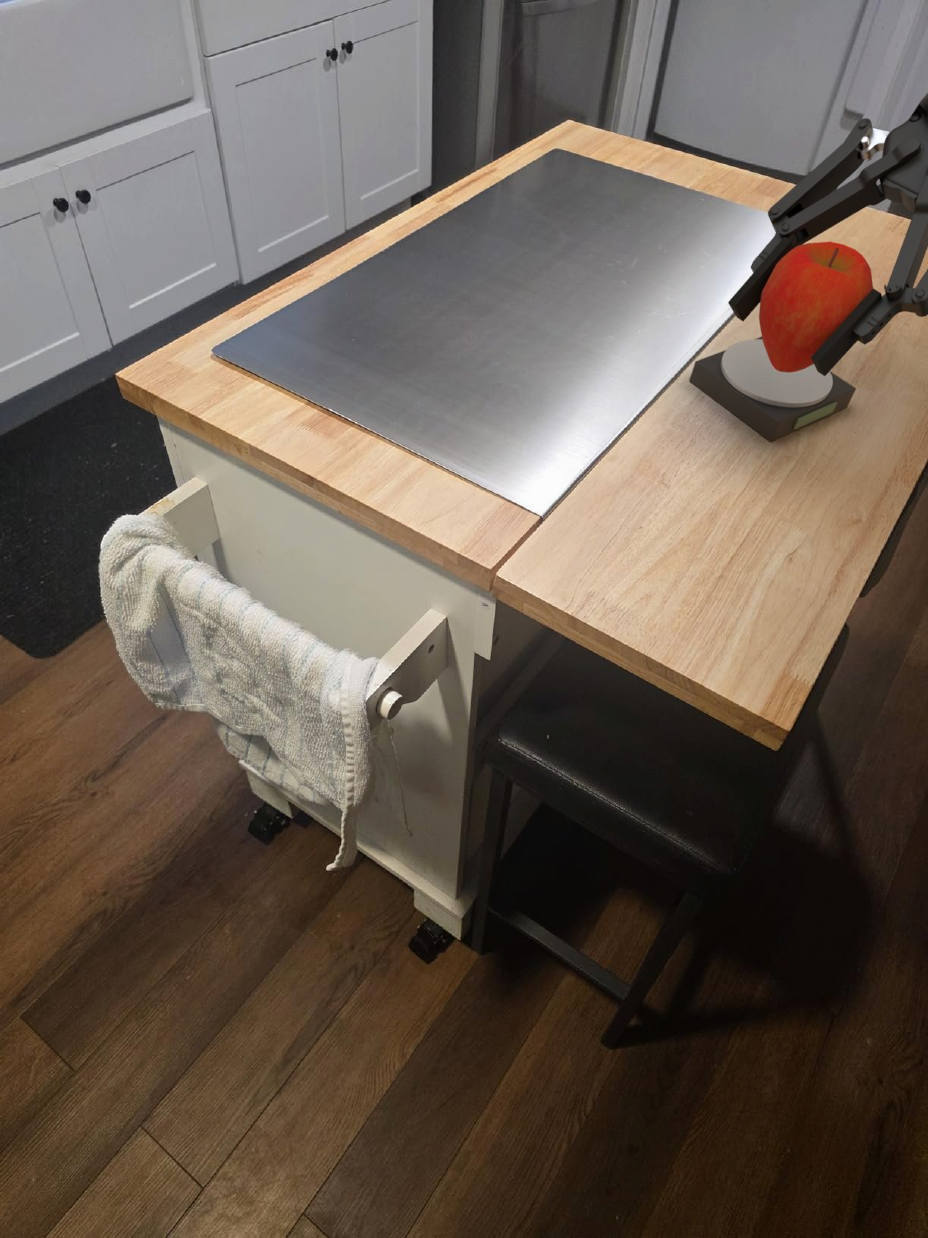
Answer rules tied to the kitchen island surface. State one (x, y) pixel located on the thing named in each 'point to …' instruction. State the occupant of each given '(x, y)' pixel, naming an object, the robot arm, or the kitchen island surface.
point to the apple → (810, 300)
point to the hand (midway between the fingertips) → (775, 338)
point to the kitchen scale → (769, 390)
